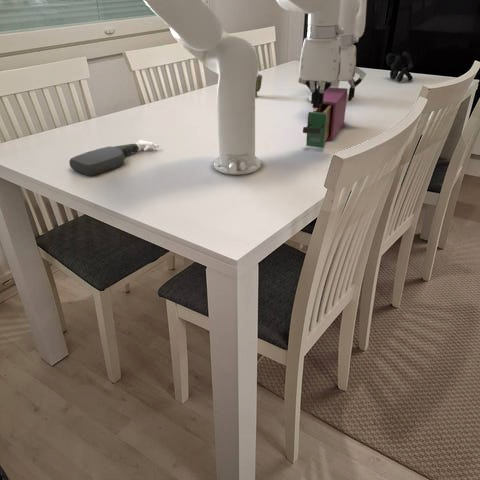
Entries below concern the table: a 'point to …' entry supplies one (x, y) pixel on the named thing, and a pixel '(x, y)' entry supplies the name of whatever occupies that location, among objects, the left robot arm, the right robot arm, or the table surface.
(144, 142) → the spray bottle
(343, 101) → the tall purple box
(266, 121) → the table surface
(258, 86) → the cup
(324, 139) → the drawer
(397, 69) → the squiggle
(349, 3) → the right robot arm
